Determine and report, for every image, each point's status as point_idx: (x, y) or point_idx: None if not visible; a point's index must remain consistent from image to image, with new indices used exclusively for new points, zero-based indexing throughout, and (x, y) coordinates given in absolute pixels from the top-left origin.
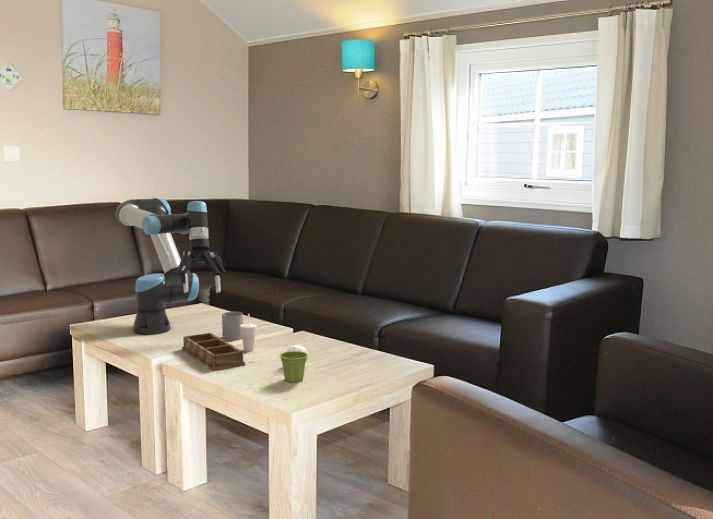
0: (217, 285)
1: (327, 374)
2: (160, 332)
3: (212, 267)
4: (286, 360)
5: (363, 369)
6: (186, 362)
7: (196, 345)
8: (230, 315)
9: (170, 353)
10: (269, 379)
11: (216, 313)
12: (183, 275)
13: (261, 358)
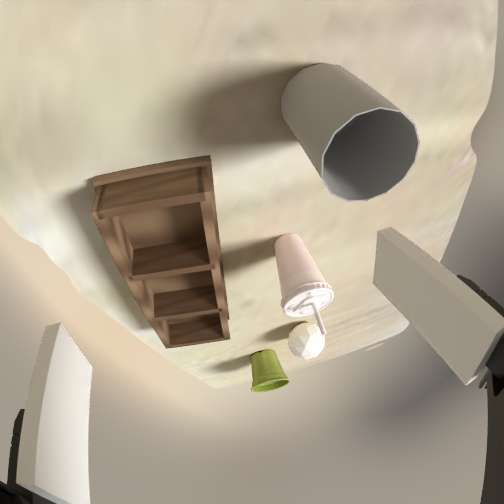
0: (411, 298)
1: None
2: None
3: (493, 477)
4: (254, 388)
5: (354, 335)
6: (109, 282)
7: (134, 296)
8: (383, 102)
9: (60, 210)
10: (235, 352)
11: None
12: (47, 502)
13: (277, 292)
